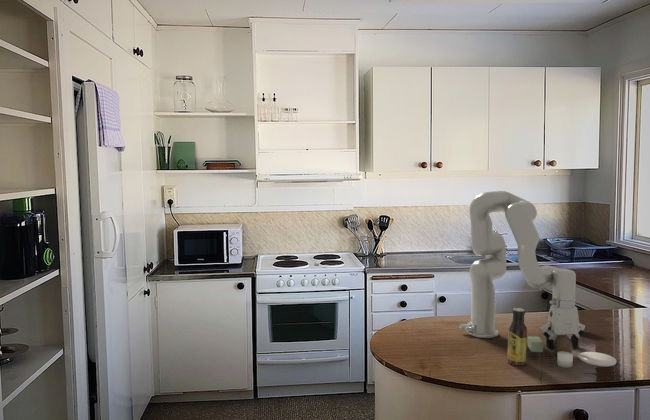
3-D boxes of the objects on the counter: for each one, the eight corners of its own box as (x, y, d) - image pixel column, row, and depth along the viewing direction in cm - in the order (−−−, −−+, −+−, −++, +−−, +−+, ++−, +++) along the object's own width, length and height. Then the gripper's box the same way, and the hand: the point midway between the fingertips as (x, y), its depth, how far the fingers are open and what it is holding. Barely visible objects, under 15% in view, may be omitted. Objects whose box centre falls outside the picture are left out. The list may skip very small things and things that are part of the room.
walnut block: (572, 349, 195) (572, 339, 194) (563, 346, 198) (563, 336, 198) (578, 347, 196) (579, 337, 196) (569, 344, 200) (570, 334, 200)
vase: (570, 353, 190) (571, 330, 189) (573, 360, 184) (574, 336, 183) (550, 351, 192) (551, 328, 192) (552, 357, 186) (553, 334, 185)
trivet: (592, 367, 177) (593, 365, 177) (571, 354, 189) (571, 352, 189) (624, 365, 178) (624, 363, 178) (601, 352, 190) (601, 350, 190)
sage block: (531, 351, 193) (531, 341, 192) (527, 346, 198) (527, 336, 198) (542, 352, 192) (542, 342, 192) (538, 346, 198) (538, 336, 198)
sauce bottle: (504, 360, 184) (505, 306, 183) (520, 359, 185) (522, 306, 183) (512, 367, 178) (513, 311, 176) (529, 366, 178) (531, 311, 177)
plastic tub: (562, 368, 177) (562, 357, 177) (554, 362, 182) (554, 351, 181) (575, 367, 178) (576, 356, 177) (567, 361, 182) (567, 350, 182)
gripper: (547, 306, 181) (546, 353, 183) (591, 304, 184) (590, 350, 185) (536, 301, 189) (534, 346, 190) (578, 299, 191) (577, 343, 193)
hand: (562, 348), depth 188 cm, fingers open, 9 cm apart
